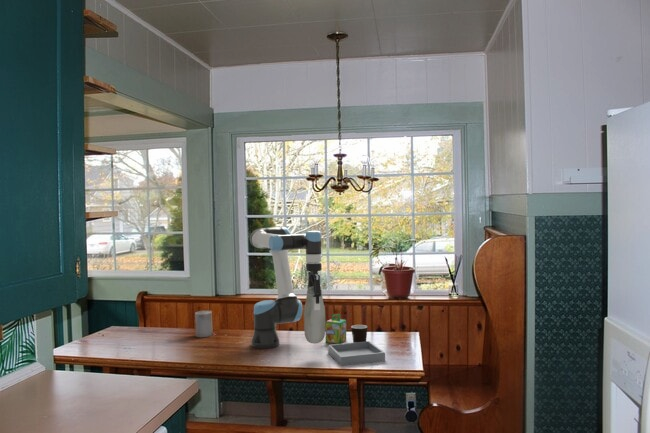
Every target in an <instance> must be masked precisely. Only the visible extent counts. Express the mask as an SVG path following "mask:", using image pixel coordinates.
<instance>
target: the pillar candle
mask: <svg viewBox="0 0 650 433" xmlns="http://www.w3.org/2000/svg"><path fill="white" fill-rule="evenodd" d="M212 314H213V311H212V310H207V309H206V310H204V309H203V310H199V311H195V312H194V318H195V321H194V322H195V326H194V327H195V337H196V338H209V337H211V336H213V334H214V333H213V332H214V330H213V315H212Z"/></svg>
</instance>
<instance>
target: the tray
mask: <svg viewBox="0 0 650 433" xmlns="http://www.w3.org/2000/svg"><path fill="white" fill-rule="evenodd" d="M327 348H328V350H327V351H328V354H329V355H330V356H331V357H332V358H333V359H334V360H335V361H336V363H338V364H339V365H340V366H348V365H349V366H350V365H358V364H367V363H368V364H369V363H378V362H385V361H386V352H385V351H384V350H382V349H381V348H380V347H378V346H377V345H375V344H374V342H373V343H372V342H371V341H370V340H366V341H365V342H355V343H353V342H347V343H344V342H343V343H341V344H337V343H333V344H328V347H327Z"/></svg>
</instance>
